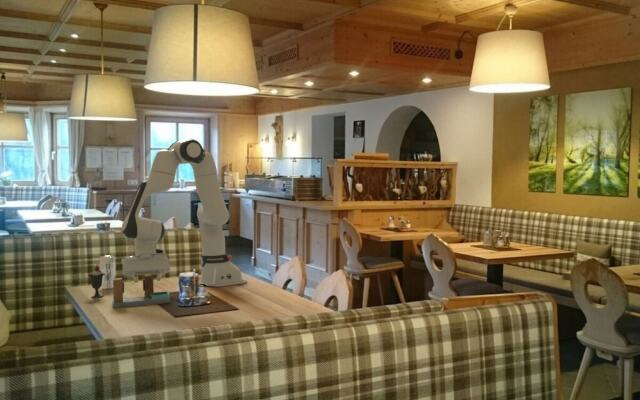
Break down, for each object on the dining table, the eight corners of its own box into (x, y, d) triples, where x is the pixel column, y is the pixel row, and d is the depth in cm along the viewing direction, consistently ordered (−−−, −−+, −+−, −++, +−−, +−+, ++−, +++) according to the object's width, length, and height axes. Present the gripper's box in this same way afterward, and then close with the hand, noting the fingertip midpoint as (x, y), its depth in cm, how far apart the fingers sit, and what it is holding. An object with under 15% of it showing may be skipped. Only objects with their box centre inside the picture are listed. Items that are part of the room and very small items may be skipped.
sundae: (98, 299, 249) (97, 264, 249) (85, 298, 251) (84, 263, 251) (108, 295, 255) (107, 262, 255) (96, 295, 258) (94, 261, 257)
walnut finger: (153, 296, 253) (152, 275, 253) (153, 297, 250) (153, 277, 249) (143, 297, 252) (142, 276, 251) (143, 298, 248) (143, 278, 248)
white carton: (112, 289, 270) (111, 257, 270) (98, 289, 270) (96, 257, 270) (118, 286, 277) (117, 255, 277) (103, 286, 277) (102, 255, 277)
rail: (168, 299, 246) (167, 273, 246) (170, 302, 240) (169, 276, 239) (112, 304, 238) (111, 277, 238) (113, 308, 232) (112, 280, 231)
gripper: (121, 252, 255) (122, 278, 246) (168, 250, 262) (171, 275, 253) (120, 261, 259) (122, 287, 250) (167, 258, 266) (170, 283, 258)
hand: (147, 281), depth 252 cm, fingers open, 8 cm apart
